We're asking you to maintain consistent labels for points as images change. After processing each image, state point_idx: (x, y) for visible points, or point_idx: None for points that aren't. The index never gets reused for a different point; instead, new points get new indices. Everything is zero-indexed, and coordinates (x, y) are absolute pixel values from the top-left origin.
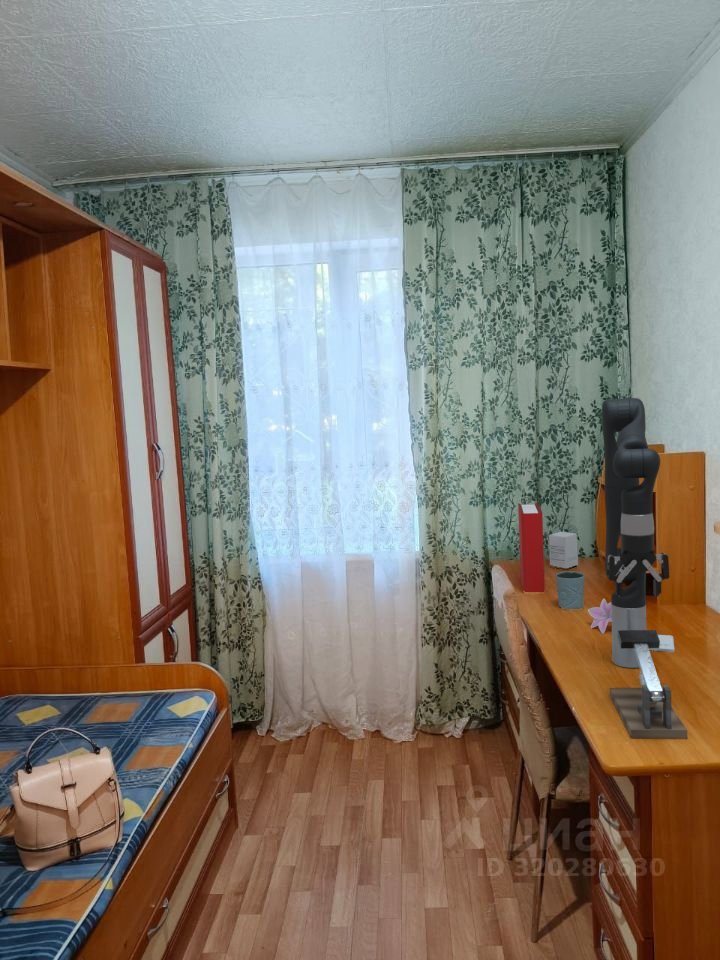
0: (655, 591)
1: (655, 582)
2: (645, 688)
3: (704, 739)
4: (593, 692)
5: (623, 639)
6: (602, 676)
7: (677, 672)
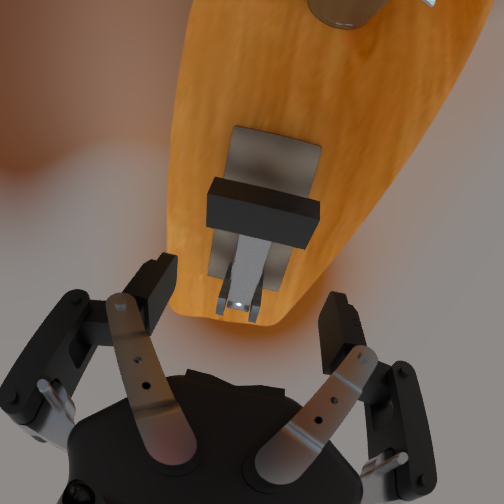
0: (321, 332)
1: (325, 368)
2: (219, 308)
3: (297, 290)
4: (213, 108)
5: (213, 222)
6: (259, 43)
7: (401, 72)
